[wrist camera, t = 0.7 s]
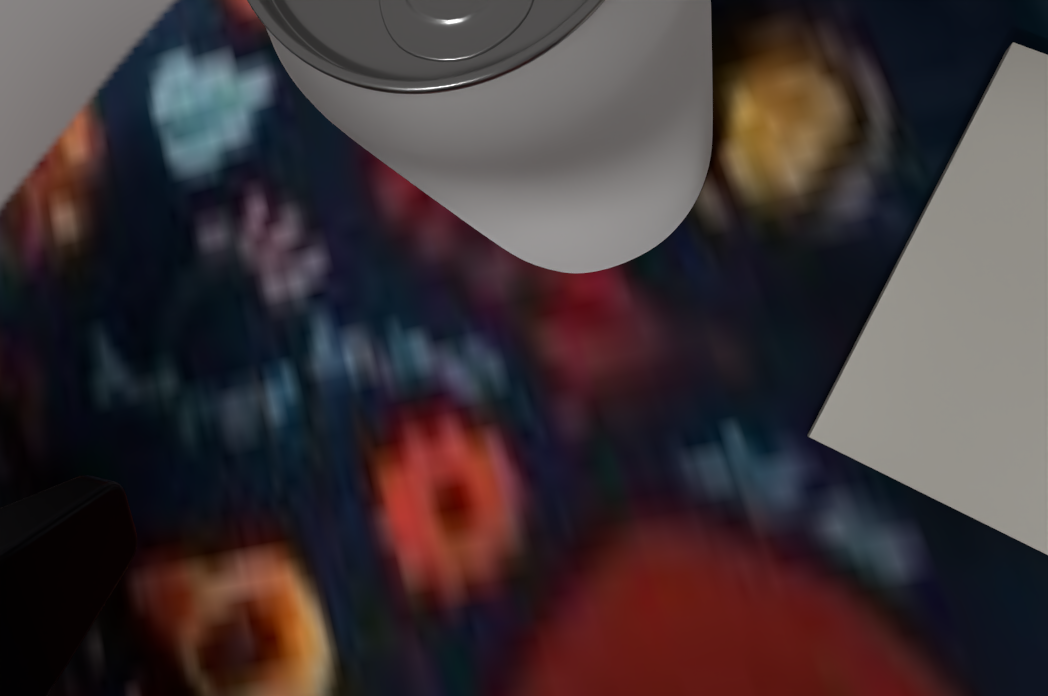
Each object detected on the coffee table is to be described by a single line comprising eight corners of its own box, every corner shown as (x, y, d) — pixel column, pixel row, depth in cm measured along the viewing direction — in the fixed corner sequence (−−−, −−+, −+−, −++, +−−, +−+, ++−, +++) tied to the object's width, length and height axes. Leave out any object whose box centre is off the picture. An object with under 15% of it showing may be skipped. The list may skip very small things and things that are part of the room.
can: (485, 300, 22) (227, 185, 11) (443, 65, 23) (156, -289, 11) (738, 244, 21) (763, 42, 9) (684, -4, 22) (645, -486, 10)
